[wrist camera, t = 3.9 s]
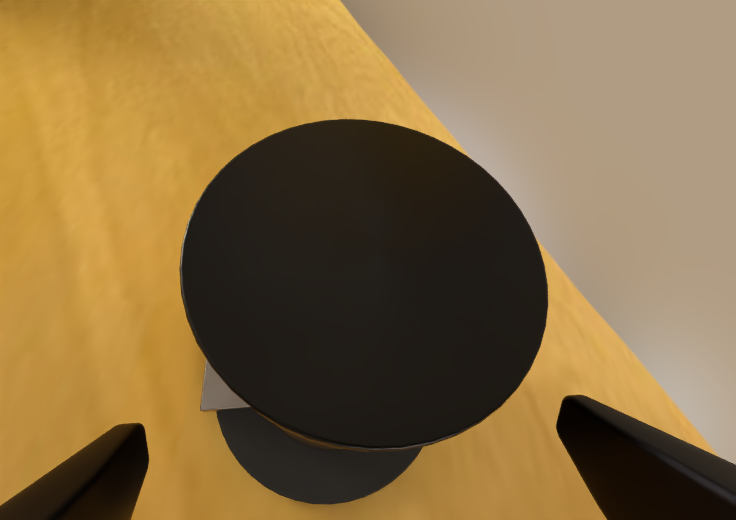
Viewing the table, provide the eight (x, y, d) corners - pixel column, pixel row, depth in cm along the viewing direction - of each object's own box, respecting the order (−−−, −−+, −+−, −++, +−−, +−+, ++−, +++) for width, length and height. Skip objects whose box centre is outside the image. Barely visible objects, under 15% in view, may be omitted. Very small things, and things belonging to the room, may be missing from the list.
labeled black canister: (414, 444, 16) (607, 428, 6) (197, 467, 15) (-63, 501, 4) (394, 299, 20) (496, 127, 9) (216, 304, 18) (95, 100, 8)
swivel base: (276, 567, 14) (276, 570, 14) (182, 329, 18) (180, 326, 17) (479, 413, 18) (483, 412, 18) (368, 245, 22) (369, 242, 21)
